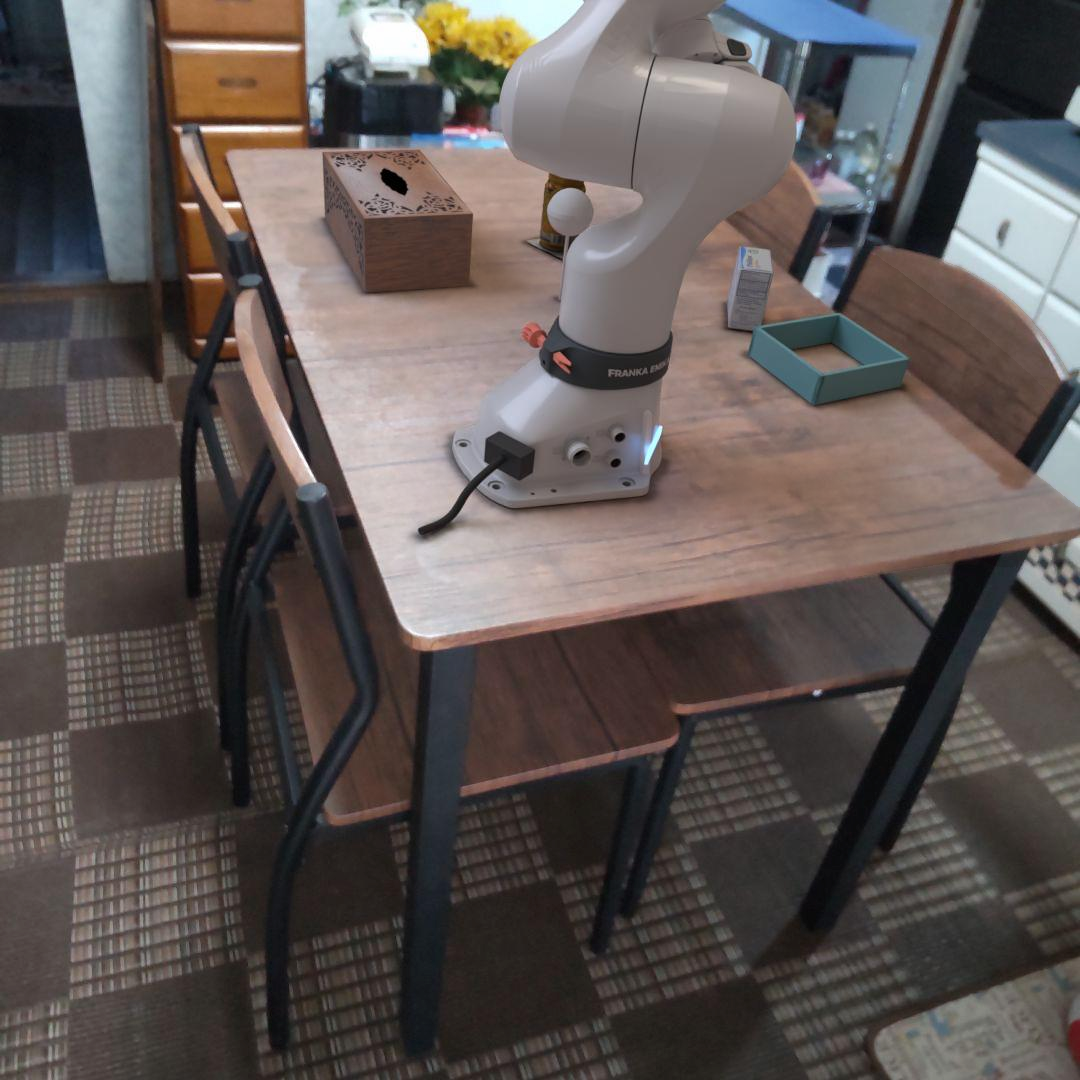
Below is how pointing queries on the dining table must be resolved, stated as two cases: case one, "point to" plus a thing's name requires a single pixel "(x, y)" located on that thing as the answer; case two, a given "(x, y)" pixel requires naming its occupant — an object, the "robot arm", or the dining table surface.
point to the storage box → (816, 387)
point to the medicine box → (749, 288)
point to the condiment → (548, 235)
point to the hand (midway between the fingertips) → (714, 155)
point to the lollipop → (569, 217)
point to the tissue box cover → (397, 220)
